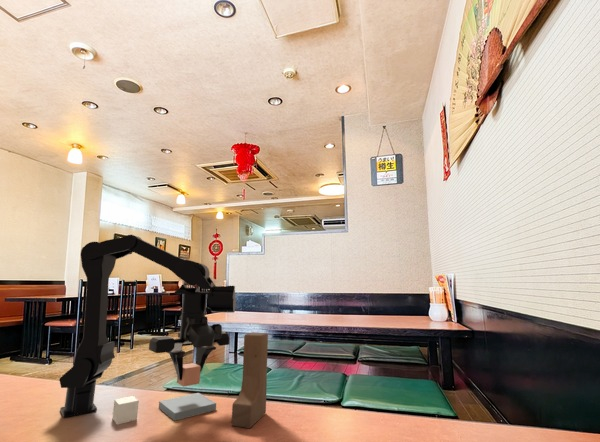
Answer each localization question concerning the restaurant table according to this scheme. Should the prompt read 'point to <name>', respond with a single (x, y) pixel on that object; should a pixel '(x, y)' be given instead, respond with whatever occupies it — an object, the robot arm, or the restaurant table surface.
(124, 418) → the cream brick
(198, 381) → the terracotta brick
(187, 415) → the build plate
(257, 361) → the wooden block
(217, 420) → the restaurant table surface
